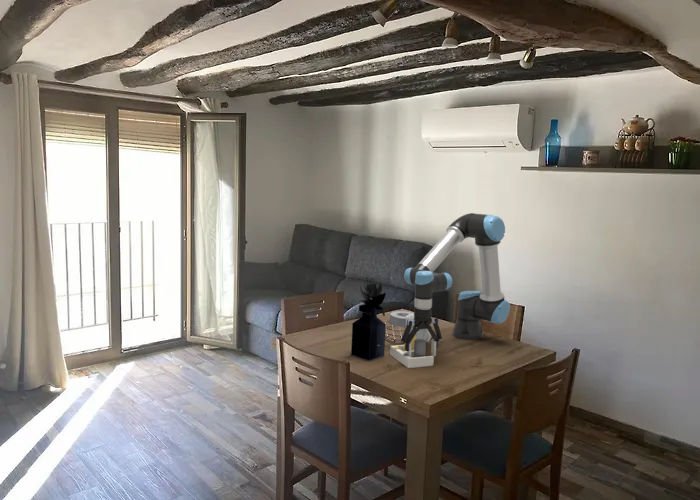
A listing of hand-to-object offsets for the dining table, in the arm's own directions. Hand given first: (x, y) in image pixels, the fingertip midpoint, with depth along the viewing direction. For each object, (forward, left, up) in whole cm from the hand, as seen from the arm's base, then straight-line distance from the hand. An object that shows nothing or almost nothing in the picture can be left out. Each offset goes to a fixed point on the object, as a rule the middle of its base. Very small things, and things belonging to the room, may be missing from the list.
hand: (421, 356), depth 235 cm
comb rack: (+3, -4, -3) cm, 6 cm away
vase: (+18, -14, -3) cm, 24 cm away
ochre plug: (+1, -9, -3) cm, 9 cm away
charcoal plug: (+1, 0, -3) cm, 3 cm away
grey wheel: (-22, -59, -3) cm, 63 cm away
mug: (-12, -24, -3) cm, 27 cm away
